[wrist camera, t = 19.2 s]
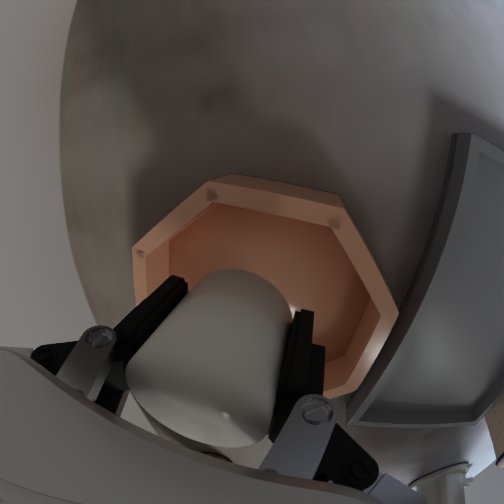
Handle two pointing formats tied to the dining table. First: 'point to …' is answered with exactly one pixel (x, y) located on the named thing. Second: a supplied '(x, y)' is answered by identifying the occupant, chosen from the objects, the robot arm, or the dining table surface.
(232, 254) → the bowl
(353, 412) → the parts tray
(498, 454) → the teacup with lid
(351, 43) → the dining table surface
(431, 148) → the dining table surface
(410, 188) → the dining table surface
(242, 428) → the pebble
